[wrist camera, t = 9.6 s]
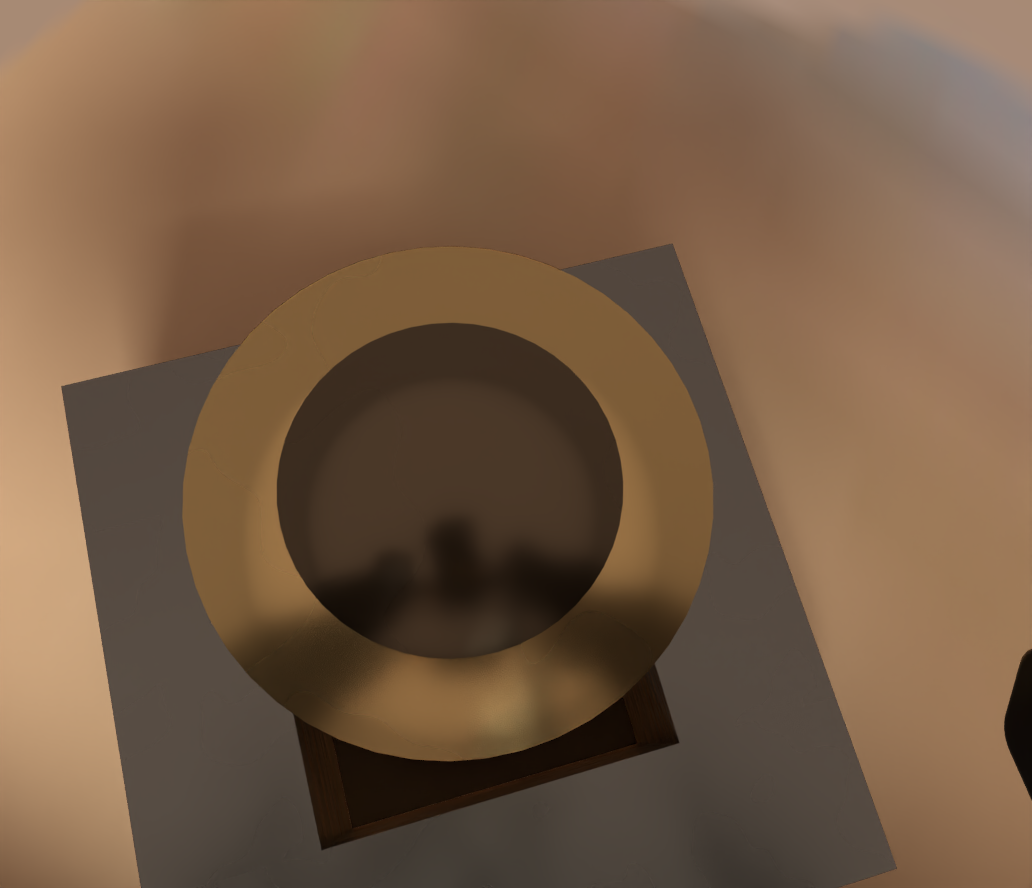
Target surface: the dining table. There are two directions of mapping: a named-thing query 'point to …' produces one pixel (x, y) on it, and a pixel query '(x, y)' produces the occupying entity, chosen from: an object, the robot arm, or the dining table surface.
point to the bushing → (447, 503)
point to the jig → (505, 807)
